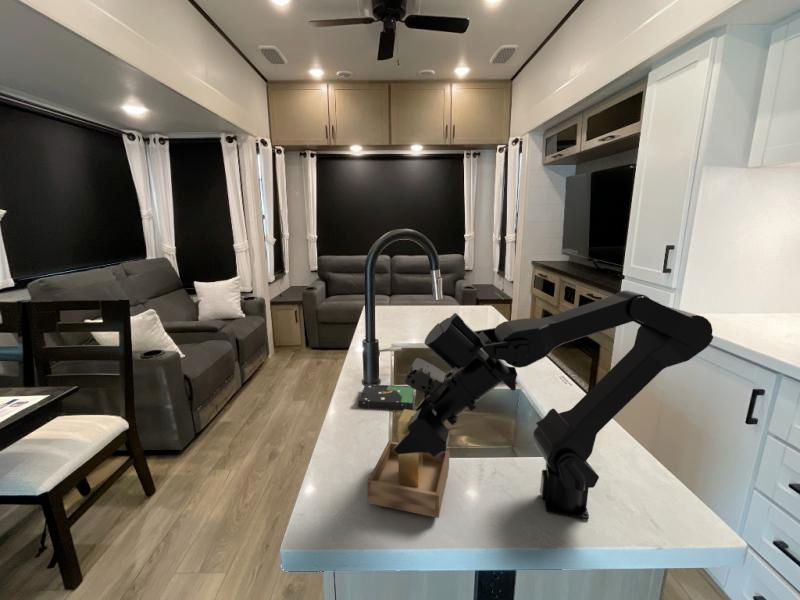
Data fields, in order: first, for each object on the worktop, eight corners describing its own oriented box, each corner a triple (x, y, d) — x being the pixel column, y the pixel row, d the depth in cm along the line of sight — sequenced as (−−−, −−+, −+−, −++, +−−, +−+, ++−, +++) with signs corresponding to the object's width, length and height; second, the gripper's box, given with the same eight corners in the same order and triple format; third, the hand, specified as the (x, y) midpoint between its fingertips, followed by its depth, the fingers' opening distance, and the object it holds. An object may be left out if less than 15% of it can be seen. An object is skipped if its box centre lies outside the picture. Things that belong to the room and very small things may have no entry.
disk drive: (357, 410, 94) (414, 412, 92) (357, 400, 93) (414, 402, 92) (365, 393, 104) (416, 394, 102) (365, 384, 103) (416, 385, 102)
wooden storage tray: (448, 474, 68) (449, 450, 67) (438, 523, 57) (439, 495, 56) (388, 463, 71) (388, 441, 70) (367, 508, 60) (367, 481, 59)
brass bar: (422, 472, 65) (423, 411, 63) (418, 487, 61) (418, 423, 59) (404, 468, 66) (404, 409, 64) (398, 483, 62) (398, 420, 60)
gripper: (443, 331, 67) (387, 380, 72) (422, 368, 49) (351, 430, 54) (484, 375, 66) (425, 421, 71) (479, 428, 48) (401, 485, 53)
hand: (403, 435), depth 62 cm, fingers open, 9 cm apart
